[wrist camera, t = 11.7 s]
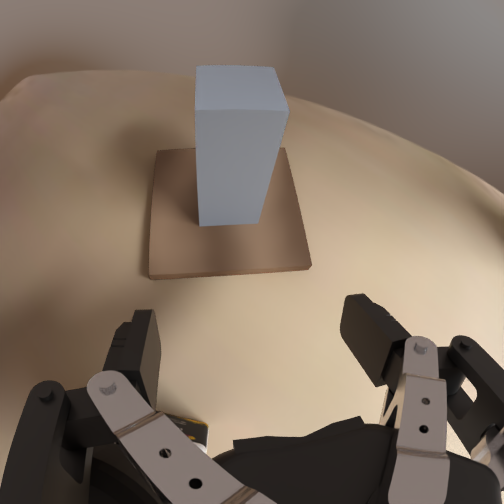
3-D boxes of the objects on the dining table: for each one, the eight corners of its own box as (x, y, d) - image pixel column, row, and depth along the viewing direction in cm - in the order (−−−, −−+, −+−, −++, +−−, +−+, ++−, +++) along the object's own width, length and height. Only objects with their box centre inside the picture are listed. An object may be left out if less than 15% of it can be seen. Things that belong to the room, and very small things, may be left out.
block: (251, 178, 25) (273, 67, 15) (258, 223, 23) (289, 111, 13) (198, 180, 24) (196, 65, 14) (199, 226, 22) (194, 110, 12)
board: (282, 154, 28) (284, 147, 27) (308, 269, 23) (312, 264, 22) (158, 157, 26) (156, 150, 25) (151, 279, 21) (148, 274, 20)
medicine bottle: (209, 422, 17) (205, 483, 6) (194, 506, 14) (181, 610, 3) (110, 395, 17) (5, 403, 6) (99, 478, 14) (11, 541, 3)
